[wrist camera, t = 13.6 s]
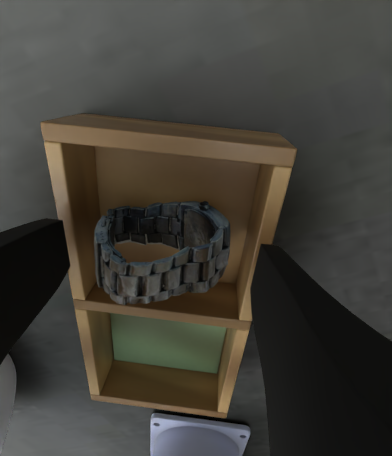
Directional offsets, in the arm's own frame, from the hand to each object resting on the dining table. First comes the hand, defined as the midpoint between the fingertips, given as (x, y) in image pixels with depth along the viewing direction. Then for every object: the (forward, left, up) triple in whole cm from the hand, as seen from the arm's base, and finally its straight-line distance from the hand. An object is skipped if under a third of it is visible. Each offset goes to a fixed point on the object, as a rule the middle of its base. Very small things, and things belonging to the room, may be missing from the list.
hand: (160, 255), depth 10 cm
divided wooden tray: (-4, 0, -4) cm, 5 cm away
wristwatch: (0, 0, -3) cm, 3 cm away
